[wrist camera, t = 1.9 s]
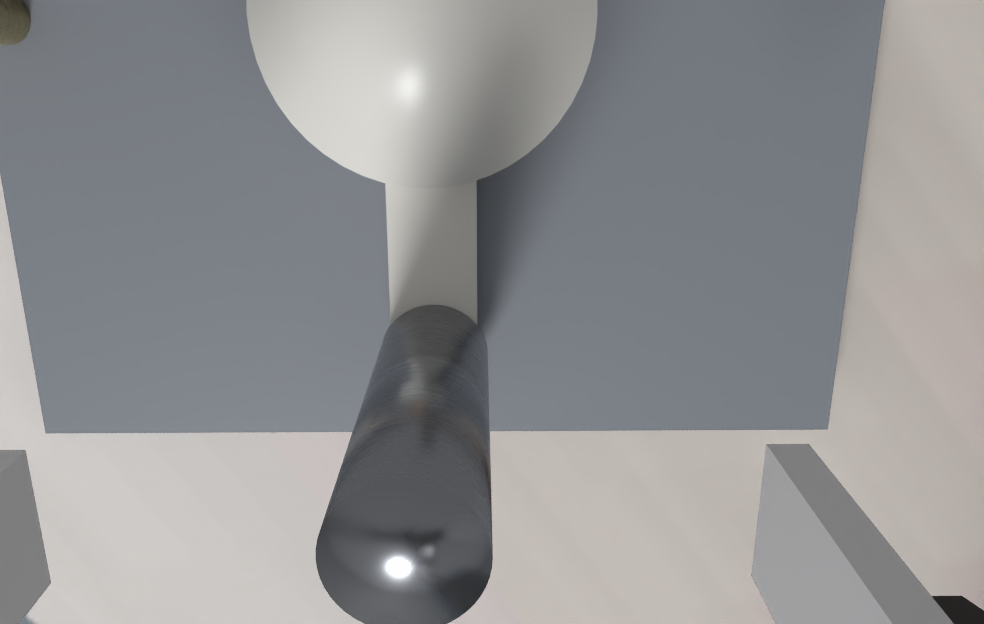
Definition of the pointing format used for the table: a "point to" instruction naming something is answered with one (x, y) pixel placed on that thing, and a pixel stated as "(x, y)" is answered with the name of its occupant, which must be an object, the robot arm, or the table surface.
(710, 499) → the table surface
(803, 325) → the dial base plate
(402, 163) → the white grey handled piece
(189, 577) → the table surface
